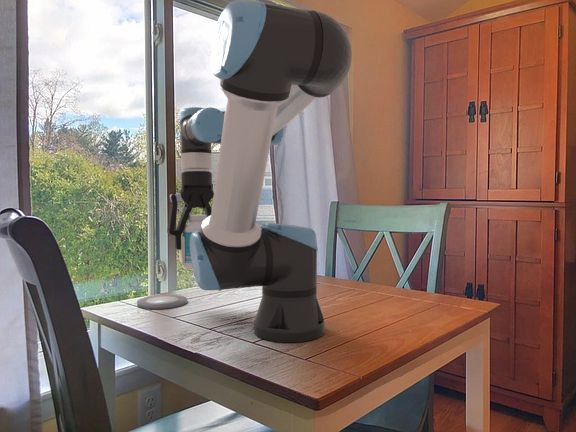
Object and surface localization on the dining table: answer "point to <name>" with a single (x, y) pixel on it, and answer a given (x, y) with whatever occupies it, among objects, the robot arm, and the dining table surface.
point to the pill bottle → (190, 228)
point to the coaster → (162, 302)
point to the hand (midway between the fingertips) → (198, 261)
